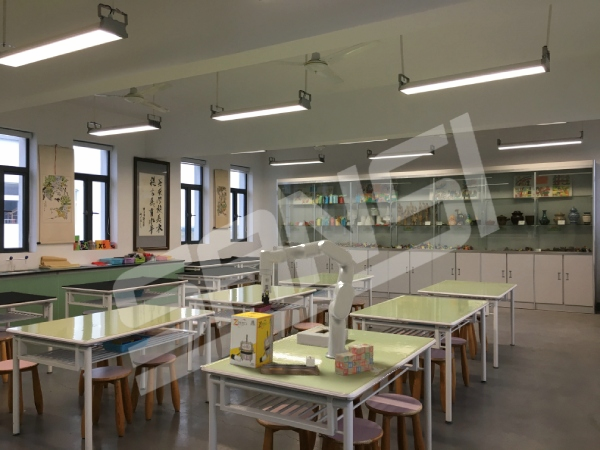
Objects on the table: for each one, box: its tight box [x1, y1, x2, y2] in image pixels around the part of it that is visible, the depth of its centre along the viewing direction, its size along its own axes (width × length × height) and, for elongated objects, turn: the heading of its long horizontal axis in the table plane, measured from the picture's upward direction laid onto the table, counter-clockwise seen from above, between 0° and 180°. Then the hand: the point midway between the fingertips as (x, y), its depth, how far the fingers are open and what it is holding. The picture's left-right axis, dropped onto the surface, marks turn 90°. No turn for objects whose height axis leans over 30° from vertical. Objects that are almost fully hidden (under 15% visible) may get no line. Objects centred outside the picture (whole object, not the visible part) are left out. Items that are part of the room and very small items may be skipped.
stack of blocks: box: [334, 343, 374, 376], centre depth 243 cm, size 21×6×12 cm, turn 129°
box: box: [296, 325, 349, 349], centre depth 313 cm, size 23×8×32 cm
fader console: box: [260, 363, 320, 376], centre depth 238 cm, size 28×10×3 cm, turn 92°
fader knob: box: [305, 356, 316, 367], centre depth 239 cm, size 4×5×5 cm
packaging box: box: [229, 311, 275, 369], centre depth 254 cm, size 16×16×25 cm
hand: (265, 303), depth 268 cm, fingers open, 9 cm apart
